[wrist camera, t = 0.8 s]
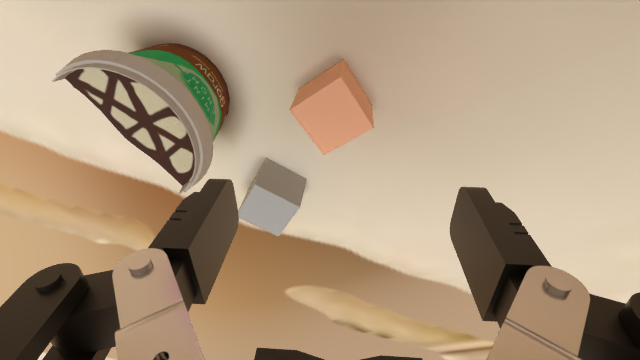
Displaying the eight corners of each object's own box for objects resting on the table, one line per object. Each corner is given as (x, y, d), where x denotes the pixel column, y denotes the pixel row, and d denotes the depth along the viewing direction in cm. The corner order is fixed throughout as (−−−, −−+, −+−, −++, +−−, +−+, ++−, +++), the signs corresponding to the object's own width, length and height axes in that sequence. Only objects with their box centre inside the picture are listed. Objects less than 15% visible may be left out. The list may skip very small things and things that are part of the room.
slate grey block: (266, 157, 36) (254, 184, 32) (306, 178, 37) (299, 207, 33) (249, 188, 39) (236, 216, 35) (286, 206, 40) (278, 236, 36)
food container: (267, 111, 33) (237, 166, 25) (224, 141, 35) (183, 199, 27) (172, -5, 28) (93, 16, 19) (129, 39, 30) (44, 74, 22)
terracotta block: (343, 58, 29) (340, 76, 25) (371, 104, 31) (373, 127, 27) (298, 88, 31) (289, 110, 27) (328, 129, 33) (323, 154, 29)
